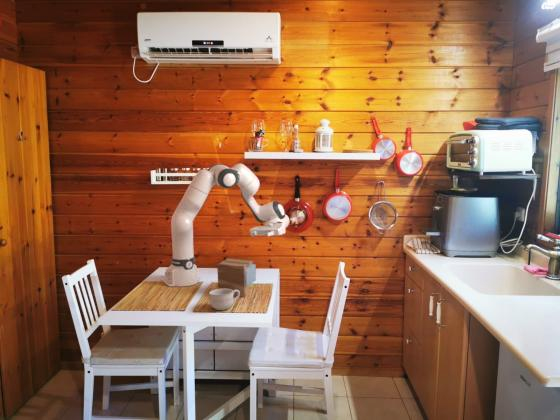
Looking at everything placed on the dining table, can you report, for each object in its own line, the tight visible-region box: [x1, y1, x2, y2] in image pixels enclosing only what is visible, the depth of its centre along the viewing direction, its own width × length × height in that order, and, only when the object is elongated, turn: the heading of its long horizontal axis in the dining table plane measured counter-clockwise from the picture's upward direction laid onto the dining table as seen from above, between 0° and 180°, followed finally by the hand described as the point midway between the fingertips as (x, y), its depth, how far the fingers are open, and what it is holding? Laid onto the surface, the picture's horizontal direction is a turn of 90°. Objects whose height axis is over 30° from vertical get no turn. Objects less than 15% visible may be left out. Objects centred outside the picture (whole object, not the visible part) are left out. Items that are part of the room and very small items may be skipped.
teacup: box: [208, 288, 240, 311], centre depth 201 cm, size 14×11×8 cm
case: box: [245, 263, 257, 288], centre depth 237 cm, size 14×4×9 cm, turn 162°
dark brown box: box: [216, 258, 254, 298], centre depth 222 cm, size 12×14×16 cm
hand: (259, 235), depth 244 cm, fingers open, 8 cm apart
